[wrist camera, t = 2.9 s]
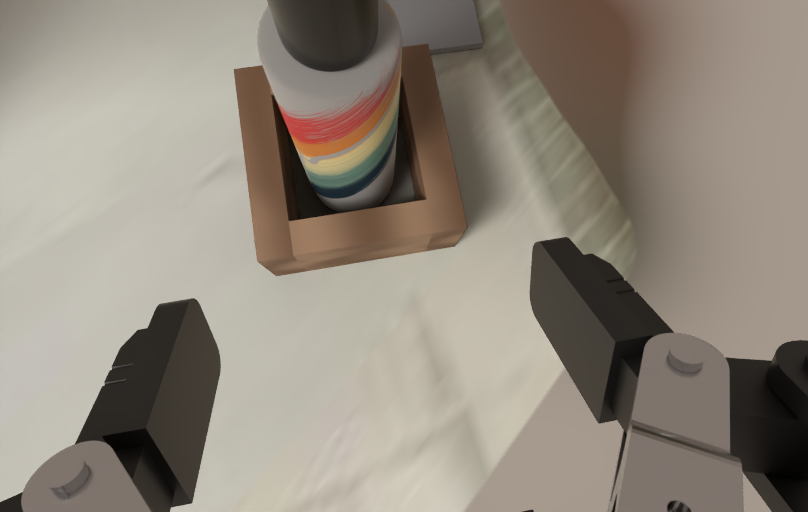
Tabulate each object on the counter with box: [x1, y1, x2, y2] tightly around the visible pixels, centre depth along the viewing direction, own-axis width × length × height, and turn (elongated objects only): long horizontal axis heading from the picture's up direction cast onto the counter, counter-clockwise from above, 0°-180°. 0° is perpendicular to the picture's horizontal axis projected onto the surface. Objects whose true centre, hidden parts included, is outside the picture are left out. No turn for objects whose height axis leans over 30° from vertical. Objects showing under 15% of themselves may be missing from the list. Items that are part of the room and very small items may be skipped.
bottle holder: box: [234, 44, 467, 276], centre depth 31 cm, size 12×12×5 cm
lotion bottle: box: [257, 0, 402, 213], centre depth 24 cm, size 6×6×20 cm
